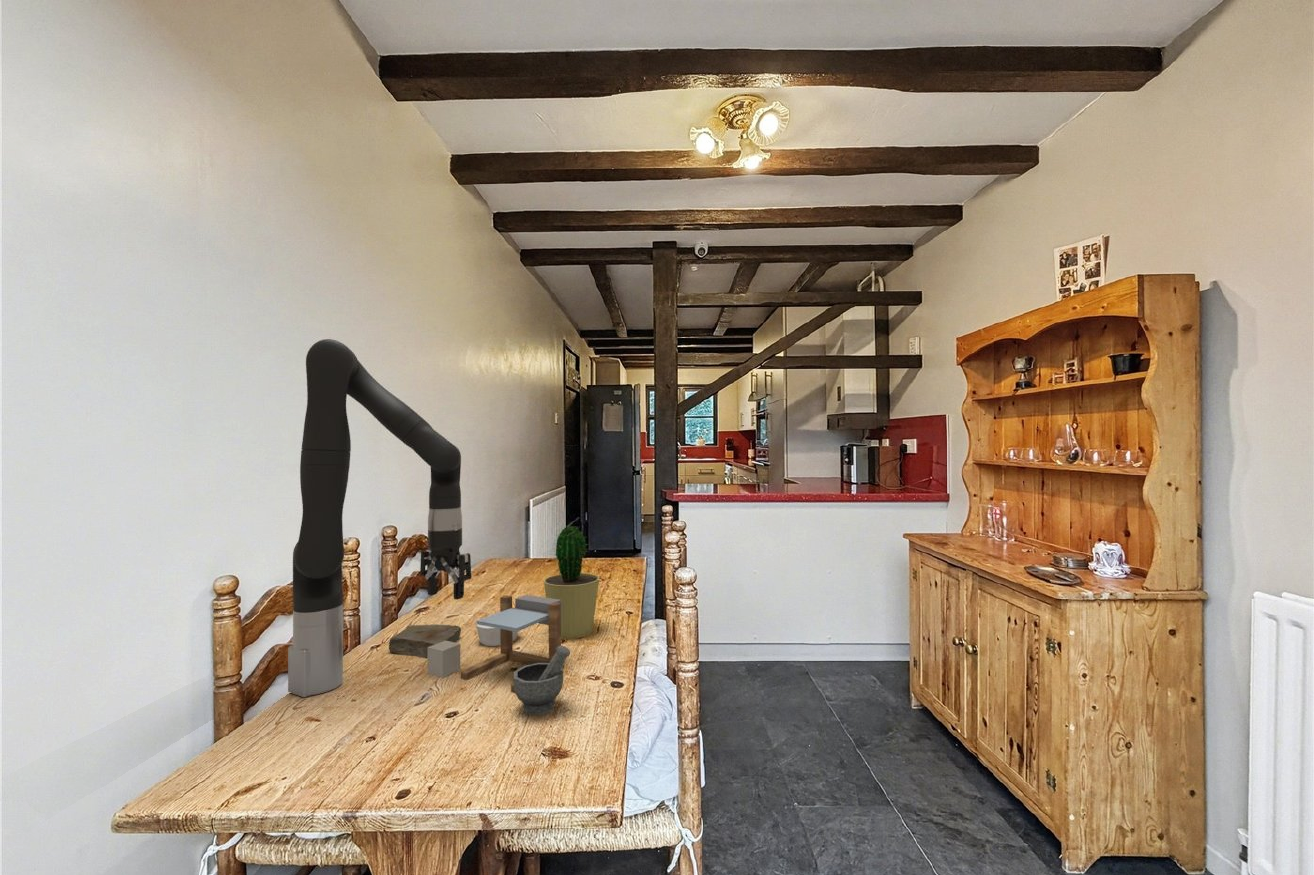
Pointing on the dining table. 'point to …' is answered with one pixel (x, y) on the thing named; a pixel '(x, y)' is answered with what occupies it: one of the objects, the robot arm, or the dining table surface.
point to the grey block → (443, 658)
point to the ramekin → (491, 635)
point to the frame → (507, 643)
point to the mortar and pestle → (540, 683)
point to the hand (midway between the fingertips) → (445, 596)
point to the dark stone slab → (422, 639)
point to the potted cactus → (573, 585)
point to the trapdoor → (521, 614)
